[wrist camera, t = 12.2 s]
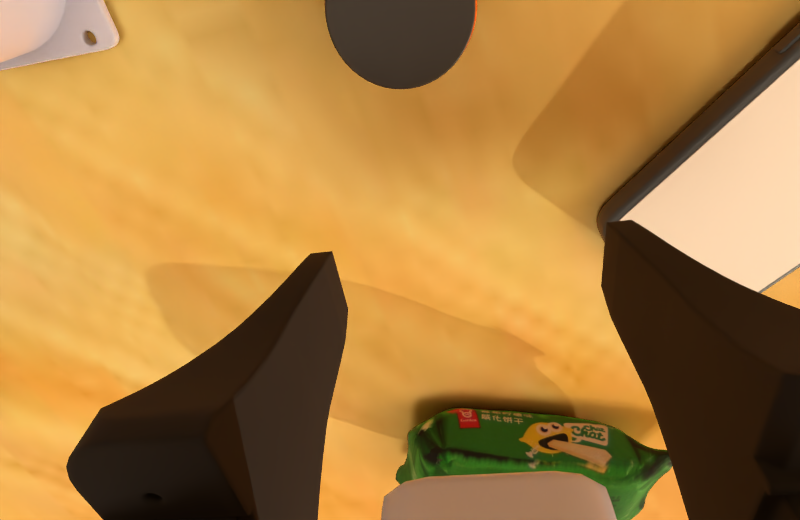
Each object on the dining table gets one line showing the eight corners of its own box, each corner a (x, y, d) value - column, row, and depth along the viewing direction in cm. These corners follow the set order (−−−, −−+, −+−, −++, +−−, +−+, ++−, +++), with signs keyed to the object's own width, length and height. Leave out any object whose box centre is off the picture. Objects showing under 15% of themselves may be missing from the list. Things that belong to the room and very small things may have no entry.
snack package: (627, 477, 35) (656, 558, 30) (396, 458, 34) (392, 537, 30) (666, 408, 31) (706, 490, 26) (404, 386, 30) (401, 465, 26)
